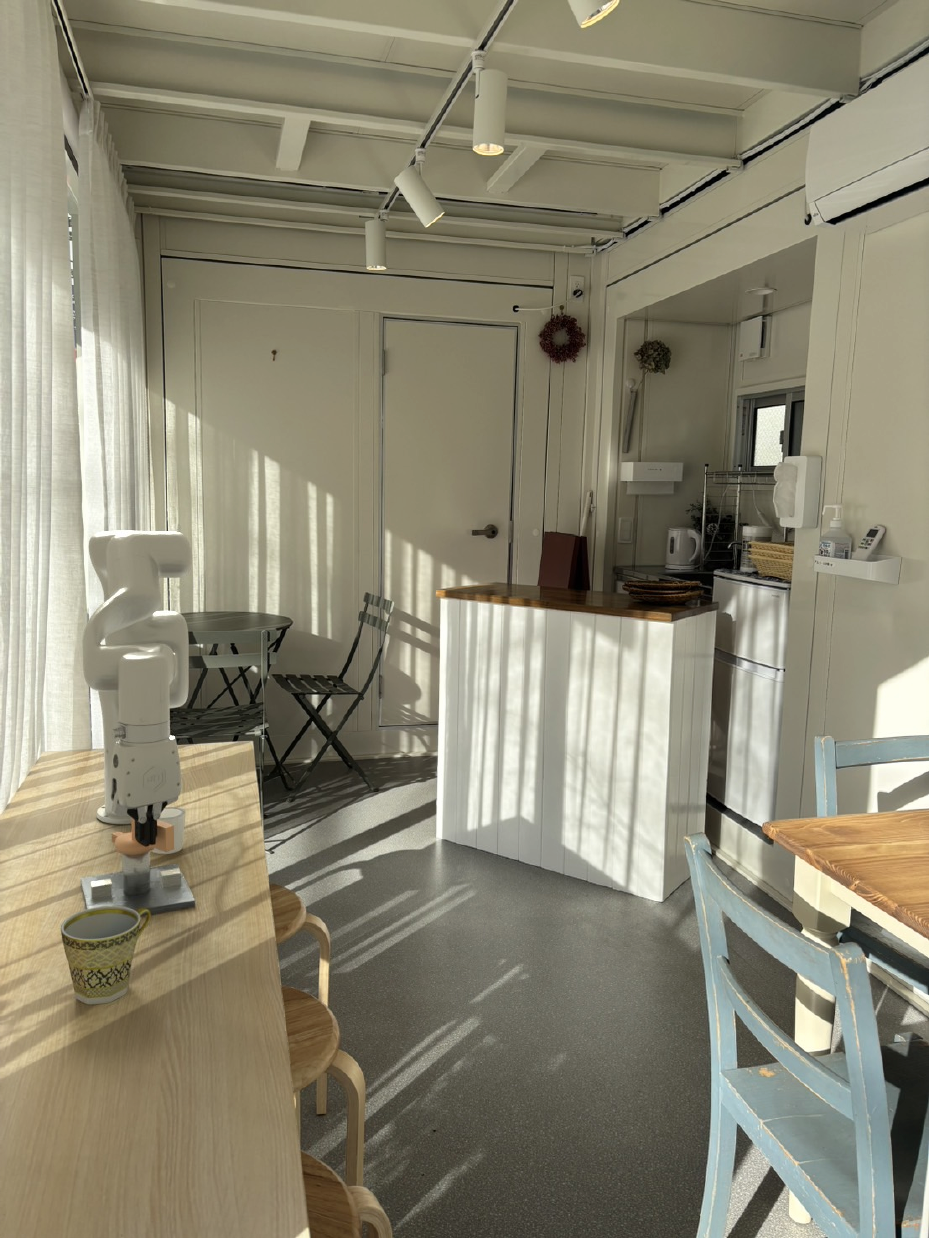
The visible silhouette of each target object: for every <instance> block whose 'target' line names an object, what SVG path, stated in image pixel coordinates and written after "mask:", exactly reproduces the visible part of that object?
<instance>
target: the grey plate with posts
mask: <svg viewBox="0 0 929 1238" xmlns="http://www.w3.org/2000/svg"><path fill="white" fill-rule="evenodd" d="M121 868H122V869H121V870H122V871H119V872H111V873H104V874H98V875H92V876H84V877H80V887H81V891H82V897H83V900H84V904H85V910H87V909H90V908H95V907H102V906H122V907H127V908H130V909H133V910H135V911H136V910H137V909H139V908H146V909H148V910H149V911H150V914H151V916H152V915H156V914H163V913H169V912H175V911H180V910H181V911H182V910H186V909H192V908H193V909H194V908H196V900H195V897H194V895H193V893H192V891H191V889H190V887H189V885H188V882H187V880H186V879H185V876H184V874H183V873H182V870H181V869H180V866H179V864H178V863H173V864H168V865H167V864H166V865H160V866H152V867H151V851H149V852H146V853H142V854H135V855H127V854H121ZM140 917H147V913H146V912H145V913H143V914H142V915H141V916H140Z"/></svg>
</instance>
